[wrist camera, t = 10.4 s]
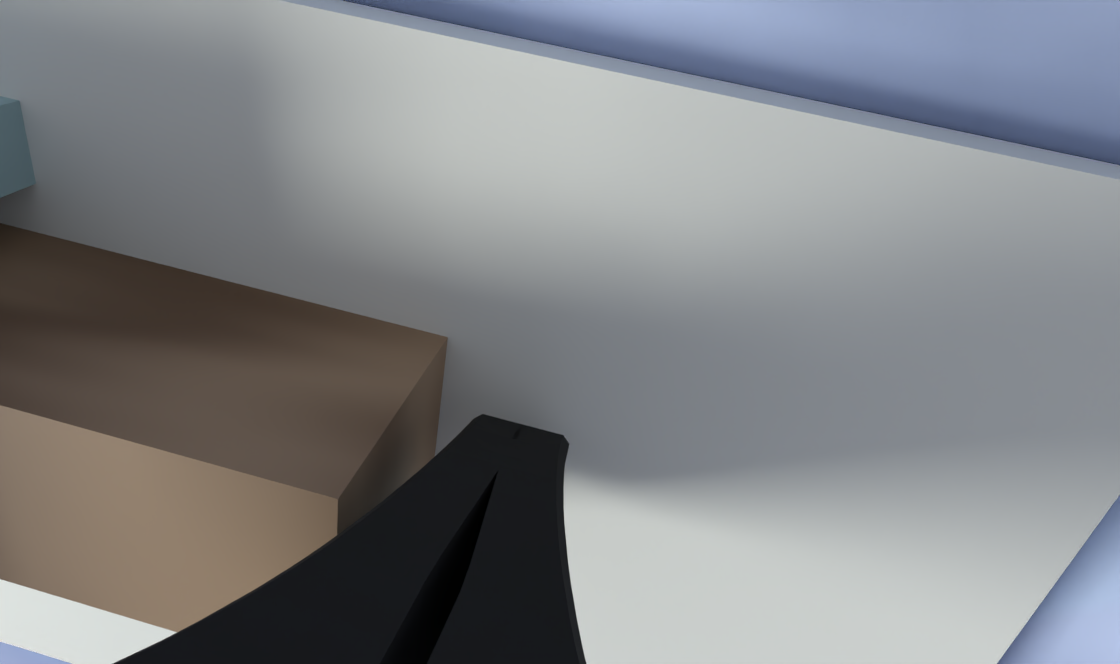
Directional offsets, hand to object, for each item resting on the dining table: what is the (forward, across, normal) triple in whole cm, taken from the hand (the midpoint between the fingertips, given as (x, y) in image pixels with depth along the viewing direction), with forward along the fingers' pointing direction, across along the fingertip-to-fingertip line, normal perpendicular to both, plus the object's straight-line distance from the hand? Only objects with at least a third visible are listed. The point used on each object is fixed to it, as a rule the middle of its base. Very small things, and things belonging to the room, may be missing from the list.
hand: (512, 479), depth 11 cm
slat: (+1, +6, 0) cm, 6 cm away
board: (+2, +5, +2) cm, 6 cm away
